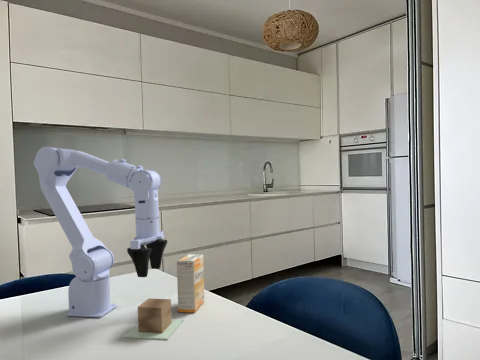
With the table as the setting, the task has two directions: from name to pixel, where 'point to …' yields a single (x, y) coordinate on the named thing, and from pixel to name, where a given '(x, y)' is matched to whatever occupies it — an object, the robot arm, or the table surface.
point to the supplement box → (190, 282)
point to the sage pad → (162, 336)
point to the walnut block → (154, 315)
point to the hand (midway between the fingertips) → (149, 272)
